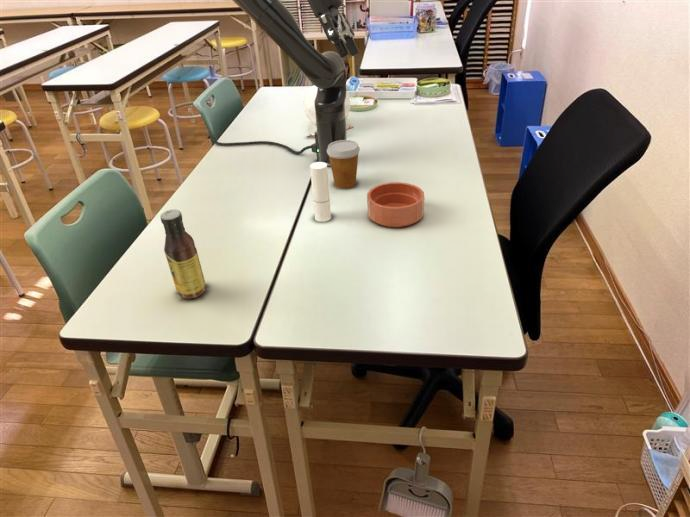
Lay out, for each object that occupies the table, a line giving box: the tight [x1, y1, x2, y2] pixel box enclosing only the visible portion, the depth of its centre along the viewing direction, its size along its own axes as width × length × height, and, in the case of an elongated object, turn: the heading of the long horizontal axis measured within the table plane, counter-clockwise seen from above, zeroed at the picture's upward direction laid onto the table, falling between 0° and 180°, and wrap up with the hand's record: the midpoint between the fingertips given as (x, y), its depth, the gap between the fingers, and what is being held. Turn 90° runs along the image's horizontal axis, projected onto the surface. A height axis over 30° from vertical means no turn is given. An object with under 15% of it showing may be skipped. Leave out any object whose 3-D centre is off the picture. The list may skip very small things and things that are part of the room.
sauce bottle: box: [159, 208, 206, 300], centre depth 108 cm, size 6×6×20 cm
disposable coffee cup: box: [327, 139, 361, 189], centre depth 151 cm, size 10×10×12 cm
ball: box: [303, 84, 354, 138], centre depth 186 cm, size 17×25×24 cm
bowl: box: [366, 181, 425, 228], centre depth 135 cm, size 15×15×6 cm
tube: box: [309, 161, 332, 223], centre depth 134 cm, size 4×4×15 cm
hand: (350, 55), depth 130 cm, fingers open, 8 cm apart
